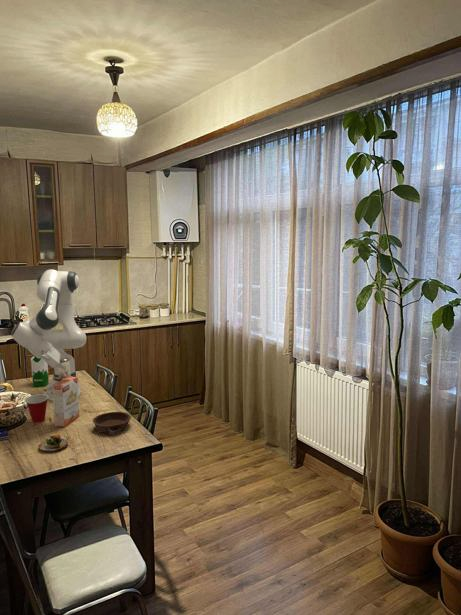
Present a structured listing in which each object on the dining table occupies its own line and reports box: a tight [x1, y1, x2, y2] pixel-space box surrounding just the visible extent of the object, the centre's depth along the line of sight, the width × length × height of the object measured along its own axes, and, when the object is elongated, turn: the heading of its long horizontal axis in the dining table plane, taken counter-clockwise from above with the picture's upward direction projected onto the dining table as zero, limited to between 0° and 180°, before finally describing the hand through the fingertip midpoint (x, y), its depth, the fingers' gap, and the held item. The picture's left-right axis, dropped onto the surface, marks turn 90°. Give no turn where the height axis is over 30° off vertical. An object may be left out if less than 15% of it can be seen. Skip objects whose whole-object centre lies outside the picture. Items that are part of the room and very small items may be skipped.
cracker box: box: [52, 376, 80, 428], centre depth 224 cm, size 14×6×21 cm, turn 168°
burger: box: [38, 432, 69, 452], centre depth 197 cm, size 12×12×8 cm
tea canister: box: [58, 358, 71, 379], centre depth 222 cm, size 6×6×9 cm
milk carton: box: [30, 355, 50, 388], centre depth 283 cm, size 9×9×20 cm
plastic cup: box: [24, 393, 49, 424], centre depth 226 cm, size 11×11×12 cm
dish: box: [92, 411, 132, 435], centre depth 217 cm, size 18×22×5 cm
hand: (65, 367), depth 222 cm, fingers closed on tea canister, 5 cm apart
